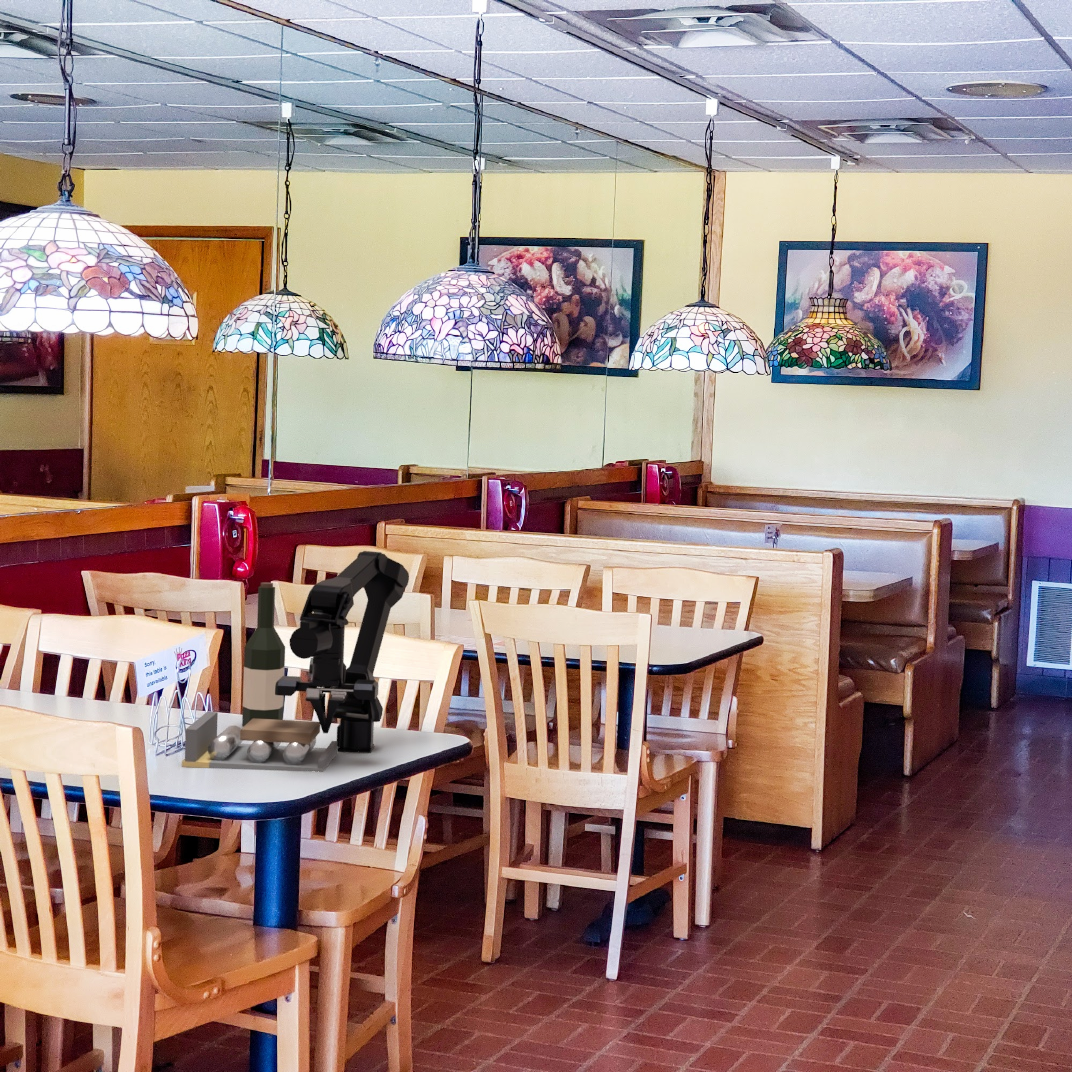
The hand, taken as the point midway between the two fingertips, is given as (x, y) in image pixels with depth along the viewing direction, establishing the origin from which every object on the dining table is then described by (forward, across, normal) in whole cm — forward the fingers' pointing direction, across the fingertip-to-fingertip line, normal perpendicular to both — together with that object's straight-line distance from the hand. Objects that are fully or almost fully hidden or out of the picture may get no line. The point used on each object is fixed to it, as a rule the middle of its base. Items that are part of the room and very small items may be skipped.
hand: (325, 732), depth 277 cm
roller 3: (+5, +4, 0) cm, 6 cm away
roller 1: (+5, +18, 0) cm, 19 cm away
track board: (+6, +12, 0) cm, 13 cm away
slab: (+1, +8, 0) cm, 8 cm away
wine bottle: (+6, +18, -29) cm, 35 cm away
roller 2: (+4, +10, 0) cm, 11 cm away
